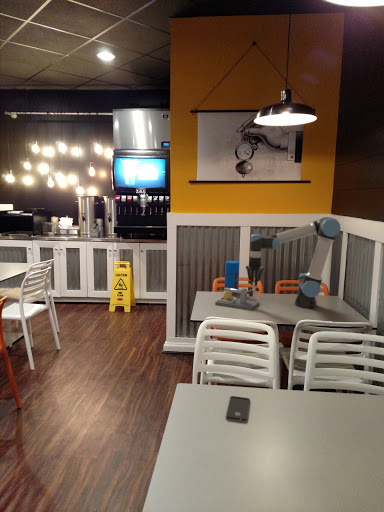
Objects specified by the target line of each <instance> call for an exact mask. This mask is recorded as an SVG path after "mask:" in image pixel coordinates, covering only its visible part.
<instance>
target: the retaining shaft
mask: <svg viewBox="0 0 384 512" xmlns="http://www.w3.org/2000/svg"><path fill="white" fill-rule="evenodd" d="M224 291H228V292H235V293H238V294H241V289H239V288H238V289H231V288H223V292H224ZM254 292H255V291H252V289H249V290H247V291H246V290H245V294H247V295H249V297H251V298H252V297H254Z"/></svg>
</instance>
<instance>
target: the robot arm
mask: <svg viewBox="0 0 384 512" xmlns="http://www.w3.org/2000/svg"><path fill="white" fill-rule="evenodd" d="M340 231H341V223H340V222H339V220H337V219H336V218H334V217H330V216H323V217H322V218H320V219H317V220H313V221H312V222H311V223H310V224H309V223H308V224H305V225H302V226H298V227H295V228H292V229H287V230H285V231H282V232H278V233H275V234H272V235H271V234H268V235H266V236H265V237H263V235H262V234H261V233H258V234H257V233H253V234H251V235H250V243H249V244H250V245H249V246H250V247H249V249H250V250H249V264H248V265H246V266H245V269H246V273H247V278H248V280H249V281H251V282H250V285H251V286H252V291H254V292H255V291H256V287H257V286H258V282H259V281H261V279H262V275H263V271H264V270H265V267H263V266H262V262H261V261H262V258H261V257H262V249H263V250H264V249H267V250H279V249H280V246H281V244H284V243H287V242H291V241H295V240H298V239H302V238H305V237H309V236H312V235H315V236H317V238H318V240H317V243H316V246H315V250H314V252H313V256H312V258H311V263H310V266H309V269H308V271H307V272H305V273H304V272H303V273H299V276H298V289H297V290H298V291H297V295H296V297H295V300H294V305H295V306H296V307H300V308H306V309H314V308H316V307H317V306H318V305H317V304H318V303H317V300H316V299H317V298H316V297H317V296H319V295H320V293H321V290H322V288H321V285H322V281H323V278H322V274H323V271H324V267H325V265H326V261H327V258H328V255H329V252H330V250H331V246H332V244H333V242H334V241H336V239H337V236H338V235H339V233H340ZM259 270H260V271H259Z"/></svg>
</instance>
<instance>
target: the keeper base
mask: <svg viewBox="0 0 384 512" xmlns="http://www.w3.org/2000/svg"><path fill="white" fill-rule="evenodd" d="M240 290H241V293H240V298H237V297H233V296H232V299H231V301H227V300H223V295H222V296H221V297H219V298H218V299H217V300H216V301H215V302H214V303H215V305H216V306H221V307H222V306H223V307H228V308H234V309H241V310H248V311H253V310H254V309H255V308H257V307H258V306H259V304H260V302H259V301H257V300H256V301H255V300H248V299H247V295H248V294H245V290H246V291H248V289H247V288H245V287H244V288H242V289H240Z"/></svg>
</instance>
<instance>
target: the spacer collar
mask: <svg viewBox="0 0 384 512" xmlns="http://www.w3.org/2000/svg"><path fill="white" fill-rule="evenodd" d="M222 296H223V300H227V301H231V299H232V297H233V295H232V292H228V291H224V290H223V293H222Z"/></svg>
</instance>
